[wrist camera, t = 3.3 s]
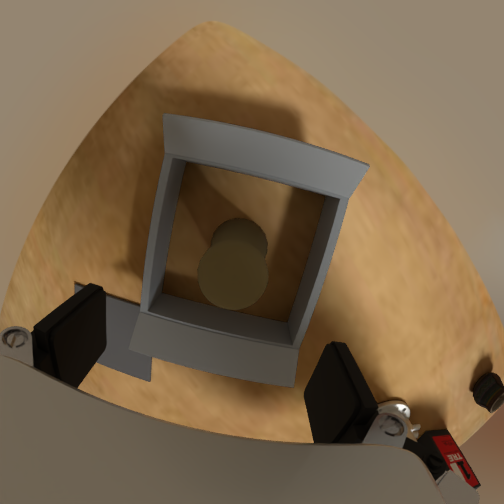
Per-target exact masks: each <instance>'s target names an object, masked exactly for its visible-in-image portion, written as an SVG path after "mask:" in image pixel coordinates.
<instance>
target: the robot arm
mask: <svg viewBox="0 0 504 504" xmlns="http://www.w3.org/2000/svg"><path fill="white" fill-rule="evenodd" d="M33 328H34V330H33V331H32V332H31V333H30V332H29V331H28V330H27V329H25V328H23V327H18V326H14V327H9V328H6V329H5V330H3V331H2V332H1V333H0V504H478V503H479V495H478V492H477V491H476V490H475V489H474V488H473V487H472V486H470V485H469V484H468V483H467V482H465V481H464V480H463V479H462V478H460V477H459V476H458V475H457V474H455V473H454V472H453V471H452V470H449V471H448V472H447V471H446V466H447V465H446V461H445V459H444V458H443V457H442V456H441V455H440V454H439V453H437V452H436V451H434V450H432V449H429V448H427V447H425V446H423V445H422V444H420V443H418V442H417V440H416V439H417V438H418V431H417V430H419V429H420V427H421V426H420V424H413V425H412V424H411V423H410V421H409V417H410V409H409V407H408V405H407V404H406V403H404V402H402V401H398V400H397V401H387V402H383V403H380V404H377V403H376V401H375V399H374V397H373V395H372V393H371V391H370V389H369V387H368V385H367V383H366V381H365V379H364V377H363V375H362V373H361V371H360V369H359V367H358V365H357V364H356V362H355V360H354V358H353V356H352V354H351V352H350V350H349V348H348V347H347V345H346V343H342V342H335V341H332V342H331V343H330V344H327V345H326V346H325V348H324V351H323V353H322V355H321V357H320V359H319V362H318V364H317V366H316V368H315V370H314V372H313V374H312V376H311V378H310V380H309V383H308V385H307V387H306V389H305V391H304V400H305V404H306V409H307V413H308V418H309V422H310V427H311V431H312V436H313V441H314V443H299V442H283V441H271V440H262V439H253V438H246V437H239V436H233V435H227V434H221V433H215V432H210V431H205V430H201V429H196V428H192V427H187V426H183V425H179V424H175V423H172V422H168V421H164V420H161V419H157V418H154V417H151V416H148V415H144V414H141V413H138V412H135V411H132V410H129V409H127V408H124V407H121V406H118V405H116V404H113V403H110V402H108V401H105V400H103V399H100V398H98V397H96V396H93V395H91V394H89V393H86V392H84V391H82V390H80V389H77V388H78V386H79V385H80V383H81V382H82V381H83V379H84V378H85V377H86V375H87V374H88V372H89V371H90V370H91V368H92V367H93V366H94V364H95V363H96V362H97V360H98V359H99V358H100V356H101V355H102V354H103V352H104V351H105V349H106V346H107V335H106V292H105V291H103V287H101V286H98V285H95V284H92V283H89V284H88V285H86V286H85V287H84V288H82V289H81V290H80V291H78V292H77V293H76V294H74V295H73V296H72V297H70V298H69V299H68V300H66V301H65V302H64V303H62V304H61V305H60V306H59V307H57V308H56V309H55V310H53V311H52V312H51V313H50V314H48V315H47V316H46V317H45V318H43V319H42V320H41V321H40V322H38V323H37V324H36V325H35V326H34V327H33Z"/></svg>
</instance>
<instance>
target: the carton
mask: <svg viewBox="0 0 504 504" xmlns="http://www.w3.org/2000/svg"><path fill="white" fill-rule="evenodd" d="M163 133H164V149H165V155H164V160H163V164H162V168H161V173H160V177H159V182H158V187H157V192H156V197H155V202H154V207H153V213H152V219H151V224H150V231H149V237H148V244H147V251H146V258H145V266H144V275H143V284H142V294H141V306H140V313H139V316H138V319H137V322H136V325H135V328H134V332H133V335H132V338H131V342H130V345H129V349H130V350H133V351H136V352H139V353H142V354H145V355H148V356H151V357H154V358H157V359H161V360H164V361H168V362H171V363H175V364H178V365H182V366H185V367H189V368H193V369H197V370H201V371H205V372H209V373H214V374H218V375H223V376H227V377H232V378H237V379H242V380H248V381H253V382H259V383H265V384H271V385H278V386H285V387H292V388H294V383H295V376H296V369H297V362H298V355H299V348H300V346H301V343H302V341H303V338H304V335H305V333H306V330H307V328H308V325H309V322H310V320H311V317H312V314H313V311H314V309H315V306H316V303H317V300H318V298H319V295H320V292H321V289H322V286H323V283H324V280H325V277H326V274H327V271H328V268H329V265H330V262H331V259H332V256H333V252H334V249H335V246H336V243H337V239H338V236H339V233H340V229H341V226H342V222H343V219H344V215H345V212H346V208H347V204H348V200H349V198H350V197H351V195H352V194H353V192H354V191H355V189H356V188H357V186H358V184H359V183H360V181H361V180H362V178H363V177H364V175H365V173H366V172H367V170H368V169H369V167H370V166H369V164H367V163H364V162H362V161H359V160H356V159H354V158H351V157H348V156H345V155H342V154H340V153H337V152H334V151H331V150H328V149H325V148H321V147H318V146H315V145H312V144H308V143H305V142H302V141H298V140H295V139H291V138H288V137H284V136H280V135H276V134H273V133H269V132H265V131H260V130H256V129H252V128H248V127H243V126H238V125H234V124H229V123H224V122H218V121H213V120H207V119H201V118H195V117H189V116H182V115H175V114H167V113H164V114H163ZM186 162H190V163H196V164H201V165H205V166H210V167H215V168H220V169H224V170H229V171H233V172H237V173H242V174H246V175H250V176H254V177H258V178H262V179H266V180H270V181H274V182H278V183H282V184H285V185H289V186H293V187H296V188H300V189H303V190H307V191H310V192H314V193H317V194H321V195H324V196H326V197H325V201H324V204H323V208H322V212H321V215H320V219H319V223H318V226H317V230H316V233H315V237H314V240H313V243H312V247H311V250H310V254H309V257H308V260H307V263H306V267H305V270H304V273H303V276H302V279H301V283H300V286H299V289H298V292H297V295H296V298H295V301H294V304H293V307H292V310H291V313H290V316H289V319H288V322H282V321H277V320H272V319H267V318H262V317H258V316H253V315H249V314H244V313H240V312H235V311H231V310H226V309H223V308H218V307H214V306H210V305H206V304H202V303H198V302H194V301H191V300H187V299H183V298H179V297H176V296H172V295H168V294H165V293H162V289H163V282H164V275H165V268H166V261H167V255H168V249H169V243H170V237H171V232H172V226H173V221H174V216H175V211H176V206H177V201H178V196H179V191H180V187H181V182H182V178H183V173H184V169H185V165H186Z"/></svg>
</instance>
